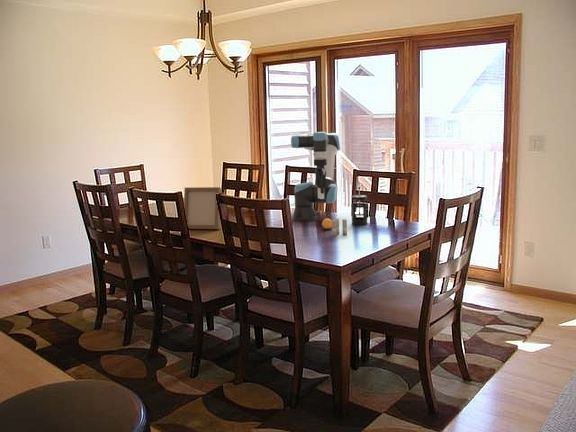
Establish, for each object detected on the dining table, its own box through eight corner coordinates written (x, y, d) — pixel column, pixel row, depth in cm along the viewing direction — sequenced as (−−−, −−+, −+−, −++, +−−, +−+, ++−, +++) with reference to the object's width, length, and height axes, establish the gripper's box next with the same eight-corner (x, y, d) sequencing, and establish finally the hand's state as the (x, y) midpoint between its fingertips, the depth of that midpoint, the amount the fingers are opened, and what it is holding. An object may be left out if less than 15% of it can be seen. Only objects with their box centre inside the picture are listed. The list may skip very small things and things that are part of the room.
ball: (320, 228, 324) (320, 218, 323) (330, 227, 326) (330, 217, 325) (324, 230, 319) (324, 219, 318) (334, 229, 320) (333, 219, 319)
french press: (358, 226, 326) (357, 187, 322) (347, 224, 334) (347, 186, 330) (372, 223, 333) (372, 185, 329) (362, 221, 340) (361, 184, 336)
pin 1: (331, 235, 304) (331, 220, 303) (335, 235, 305) (335, 219, 303) (333, 236, 302) (333, 221, 300) (337, 235, 303) (337, 220, 301)
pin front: (334, 233, 309) (333, 218, 307) (338, 233, 310) (337, 218, 308) (335, 234, 307) (335, 219, 305) (339, 234, 307) (339, 218, 306)
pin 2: (341, 234, 306) (341, 219, 304) (346, 234, 307) (345, 218, 305) (343, 235, 304) (343, 220, 302) (347, 234, 304) (347, 219, 303)
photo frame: (217, 230, 327) (215, 188, 323) (183, 230, 332) (180, 188, 328) (226, 225, 342) (224, 185, 337) (193, 225, 346) (190, 185, 342)
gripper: (309, 158, 330) (310, 197, 334) (318, 160, 316) (319, 200, 320) (321, 157, 332) (322, 196, 336) (330, 159, 318) (331, 199, 322)
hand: (321, 198), depth 328 cm, fingers open, 2 cm apart
